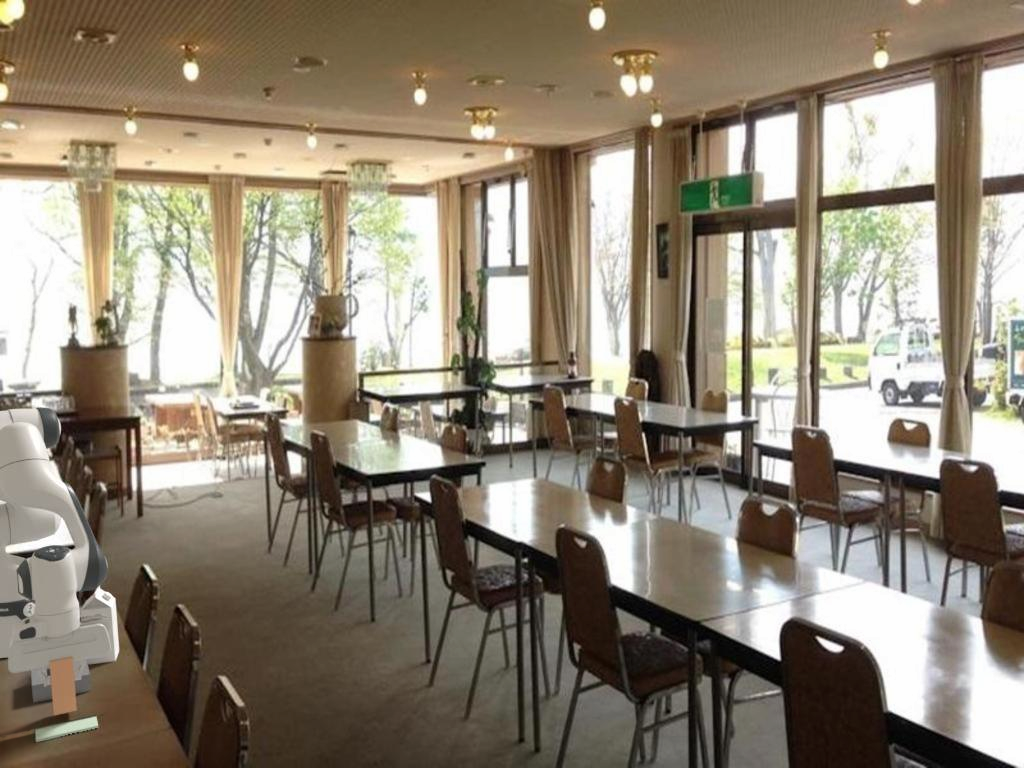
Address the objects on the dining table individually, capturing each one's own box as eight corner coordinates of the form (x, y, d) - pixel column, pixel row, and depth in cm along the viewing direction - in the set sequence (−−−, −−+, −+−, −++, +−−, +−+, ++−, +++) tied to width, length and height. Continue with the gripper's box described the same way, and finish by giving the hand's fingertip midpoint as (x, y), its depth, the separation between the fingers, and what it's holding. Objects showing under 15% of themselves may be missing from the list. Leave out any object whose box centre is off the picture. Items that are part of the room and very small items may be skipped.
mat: (34, 711, 207) (34, 709, 207) (92, 699, 213) (92, 697, 213) (36, 742, 193) (35, 739, 193) (98, 728, 199) (98, 725, 199)
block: (53, 707, 204) (48, 654, 203) (75, 702, 206) (71, 650, 205) (53, 715, 200) (49, 662, 199) (76, 710, 202) (72, 657, 201)
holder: (32, 687, 221) (30, 667, 220) (87, 676, 226) (86, 656, 226) (33, 706, 210) (31, 685, 210) (91, 694, 216) (89, 674, 215)
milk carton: (85, 668, 231) (79, 594, 229) (90, 657, 238) (84, 586, 235) (115, 664, 233) (110, 591, 231) (119, 654, 239) (114, 583, 237)
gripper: (108, 608, 208) (112, 666, 210) (5, 625, 199) (10, 687, 200) (110, 616, 203) (115, 676, 204) (5, 635, 193) (10, 698, 195)
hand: (62, 682), depth 202 cm, fingers closed on block, 4 cm apart
